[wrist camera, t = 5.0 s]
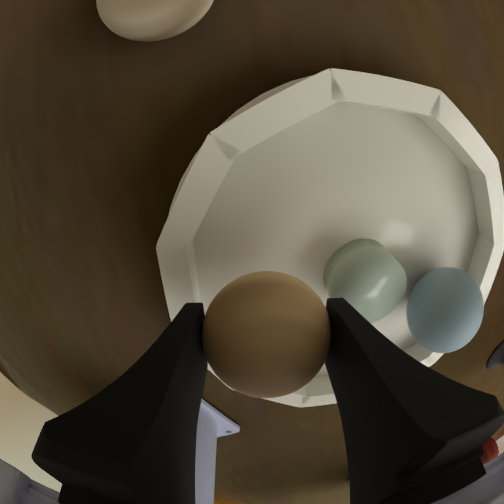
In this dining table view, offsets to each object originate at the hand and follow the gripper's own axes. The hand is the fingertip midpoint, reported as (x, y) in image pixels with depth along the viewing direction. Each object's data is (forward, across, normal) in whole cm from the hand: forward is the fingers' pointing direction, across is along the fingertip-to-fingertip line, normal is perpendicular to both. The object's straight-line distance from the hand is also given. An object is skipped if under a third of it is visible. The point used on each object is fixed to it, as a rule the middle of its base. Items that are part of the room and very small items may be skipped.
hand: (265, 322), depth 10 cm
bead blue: (+3, -9, +1) cm, 10 cm away
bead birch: (+4, +4, -12) cm, 14 cm away
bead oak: (+1, 0, 0) cm, 1 cm away
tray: (+4, -5, 0) cm, 6 cm away
